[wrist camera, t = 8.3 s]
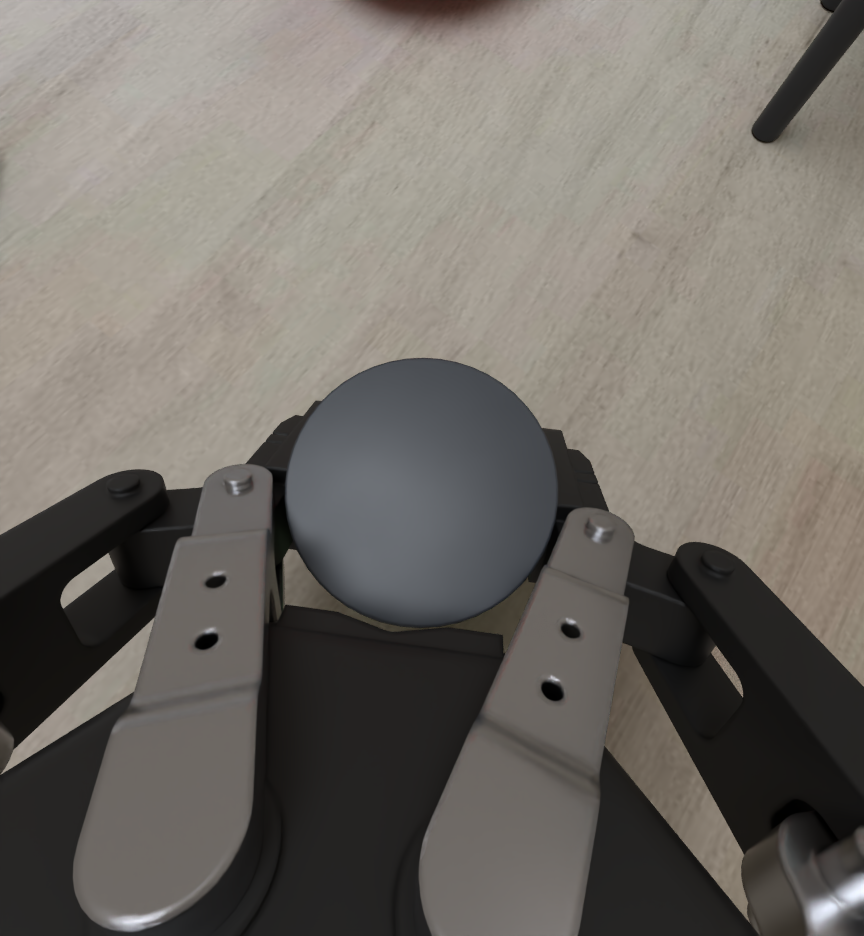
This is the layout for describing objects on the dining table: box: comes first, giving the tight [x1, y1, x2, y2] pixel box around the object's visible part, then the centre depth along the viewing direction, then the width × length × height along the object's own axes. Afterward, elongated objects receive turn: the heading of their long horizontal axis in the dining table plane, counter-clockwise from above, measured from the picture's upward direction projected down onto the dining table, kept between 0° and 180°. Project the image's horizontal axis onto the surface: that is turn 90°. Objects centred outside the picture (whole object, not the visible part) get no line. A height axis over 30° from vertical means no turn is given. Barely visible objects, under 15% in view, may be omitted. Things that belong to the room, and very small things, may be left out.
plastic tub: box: [285, 358, 558, 628], centre depth 12 cm, size 5×5×8 cm
